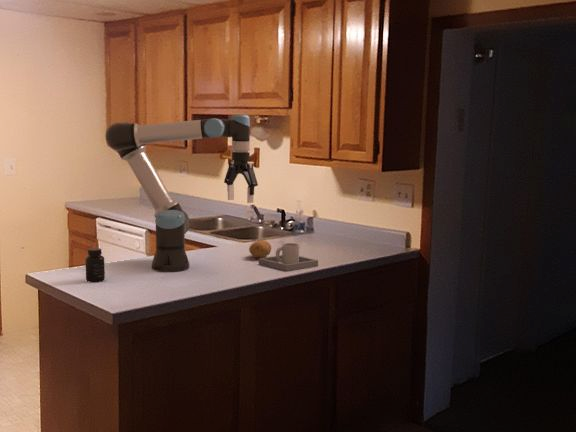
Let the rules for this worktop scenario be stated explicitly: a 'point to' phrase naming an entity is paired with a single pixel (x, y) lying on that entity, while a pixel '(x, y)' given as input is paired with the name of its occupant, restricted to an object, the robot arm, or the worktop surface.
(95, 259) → the supplement bottle
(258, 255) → the potato
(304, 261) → the tray
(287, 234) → the worktop surface
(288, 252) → the cup
